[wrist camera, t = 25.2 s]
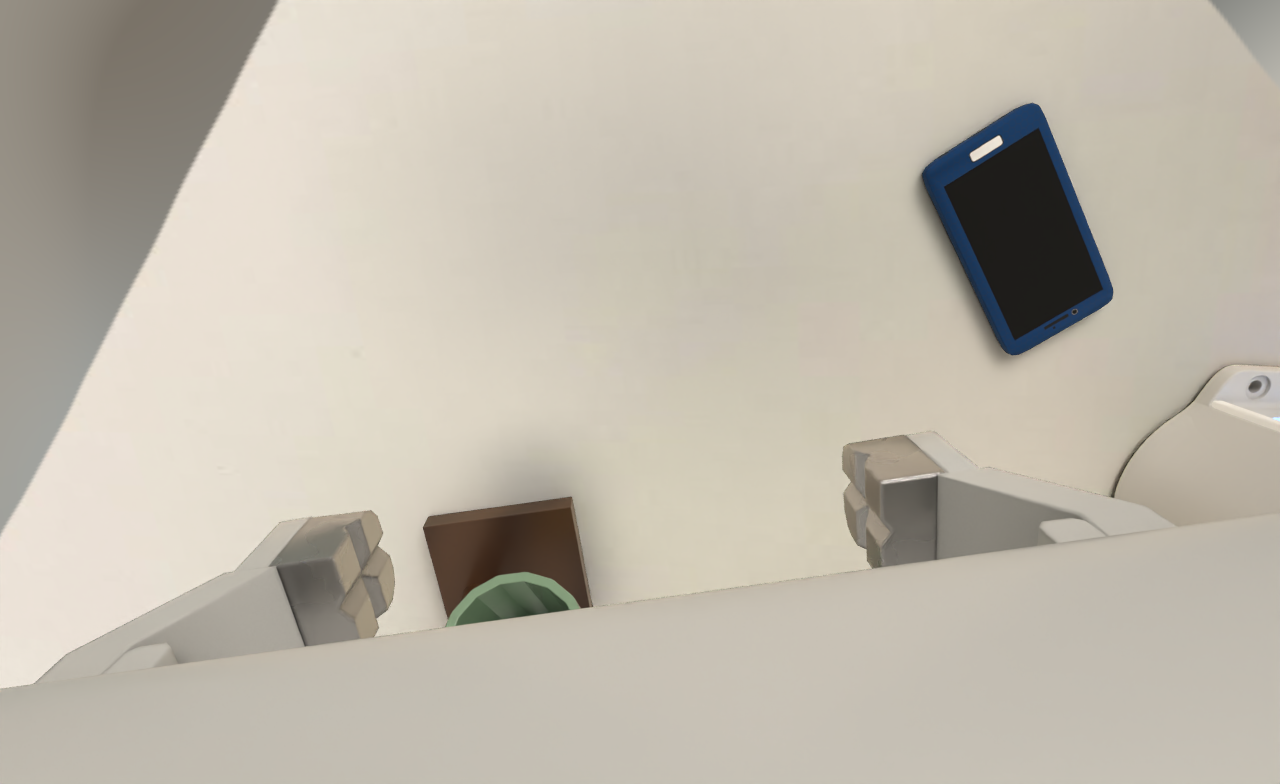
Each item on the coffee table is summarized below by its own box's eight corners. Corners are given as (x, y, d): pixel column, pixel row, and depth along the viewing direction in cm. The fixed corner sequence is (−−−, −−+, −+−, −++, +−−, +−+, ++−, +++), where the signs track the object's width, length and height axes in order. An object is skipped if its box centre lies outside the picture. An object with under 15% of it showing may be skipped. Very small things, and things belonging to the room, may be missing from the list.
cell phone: (1030, 97, 39) (1038, 96, 38) (1110, 297, 43) (1119, 299, 42) (916, 170, 40) (921, 170, 39) (1005, 358, 44) (1011, 361, 43)
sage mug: (502, 632, 42) (440, 582, 31) (609, 618, 42) (582, 563, 31) (505, 871, 36) (428, 906, 25) (630, 854, 36) (605, 883, 25)
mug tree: (618, 490, 46) (628, 861, 22) (643, 643, 50) (674, 1098, 26) (428, 516, 46) (223, 917, 22) (468, 667, 51) (336, 1144, 26)
